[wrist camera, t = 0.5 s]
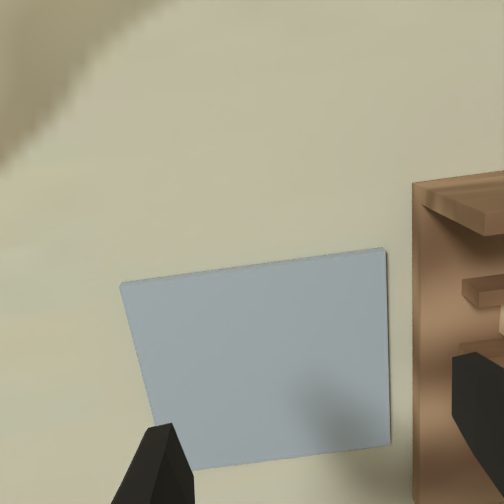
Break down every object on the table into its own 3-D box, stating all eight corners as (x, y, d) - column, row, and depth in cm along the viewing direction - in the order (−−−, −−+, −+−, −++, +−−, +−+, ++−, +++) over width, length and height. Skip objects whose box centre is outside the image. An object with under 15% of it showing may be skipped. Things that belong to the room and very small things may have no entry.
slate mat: (387, 438, 24) (390, 445, 24) (169, 466, 24) (168, 473, 24) (382, 247, 20) (385, 250, 20) (121, 282, 20) (119, 286, 20)
